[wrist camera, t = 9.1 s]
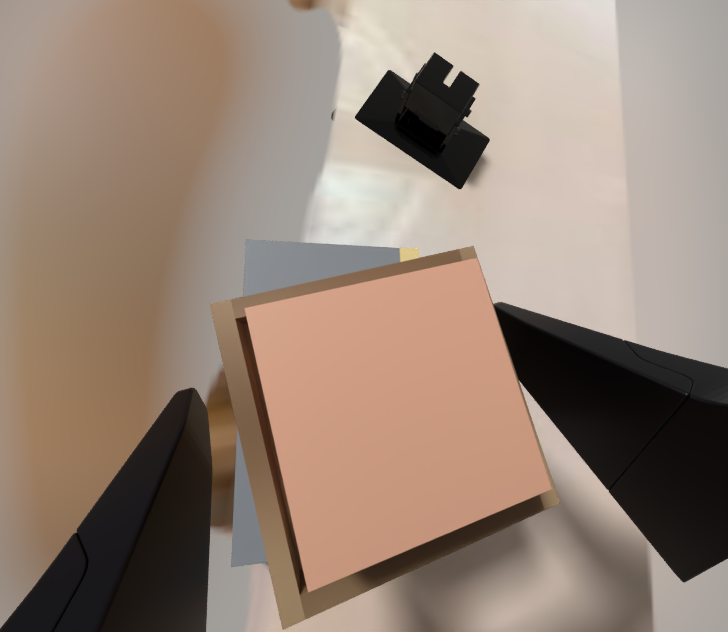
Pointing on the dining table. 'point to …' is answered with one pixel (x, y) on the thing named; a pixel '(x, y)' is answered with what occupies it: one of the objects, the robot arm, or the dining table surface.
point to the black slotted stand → (428, 119)
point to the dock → (275, 271)
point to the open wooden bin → (267, 472)
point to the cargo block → (392, 415)
